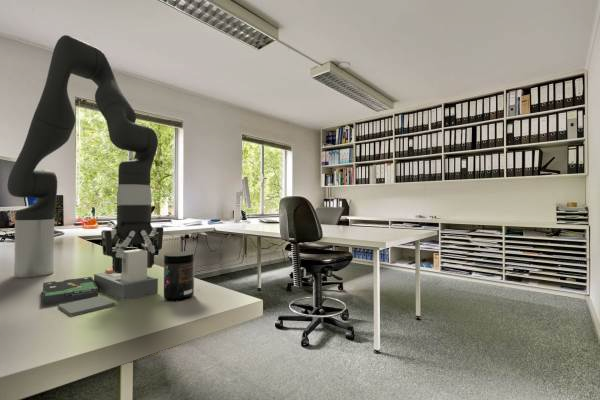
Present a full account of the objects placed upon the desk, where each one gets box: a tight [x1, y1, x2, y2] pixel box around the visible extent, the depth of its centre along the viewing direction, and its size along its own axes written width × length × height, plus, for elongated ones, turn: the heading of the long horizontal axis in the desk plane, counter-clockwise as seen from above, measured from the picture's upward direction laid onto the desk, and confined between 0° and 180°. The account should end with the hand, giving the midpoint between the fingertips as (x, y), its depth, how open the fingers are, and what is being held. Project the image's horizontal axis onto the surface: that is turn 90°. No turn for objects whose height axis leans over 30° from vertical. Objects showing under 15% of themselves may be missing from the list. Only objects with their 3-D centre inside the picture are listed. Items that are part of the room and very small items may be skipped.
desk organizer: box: [93, 268, 159, 301], centre depth 79 cm, size 24×8×4 cm, turn 53°
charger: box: [120, 248, 148, 284], centre depth 74 cm, size 4×4×8 cm
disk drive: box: [42, 276, 99, 307], centre depth 74 cm, size 10×3×15 cm
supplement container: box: [163, 251, 195, 302], centre depth 71 cm, size 7×7×10 cm
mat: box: [57, 295, 116, 317], centre depth 64 cm, size 8×8×1 cm
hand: (134, 270), depth 74 cm, fingers open, 6 cm apart
